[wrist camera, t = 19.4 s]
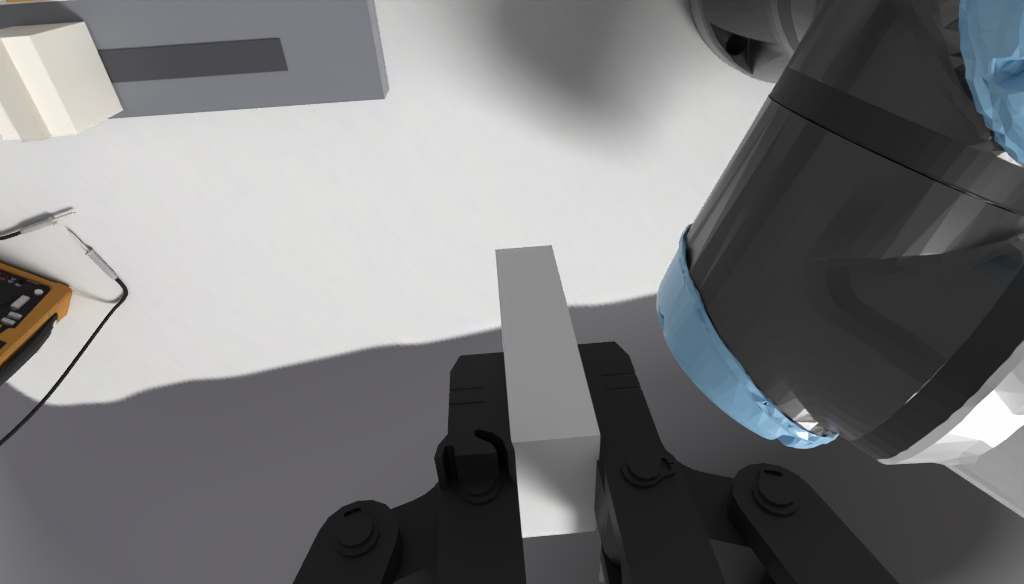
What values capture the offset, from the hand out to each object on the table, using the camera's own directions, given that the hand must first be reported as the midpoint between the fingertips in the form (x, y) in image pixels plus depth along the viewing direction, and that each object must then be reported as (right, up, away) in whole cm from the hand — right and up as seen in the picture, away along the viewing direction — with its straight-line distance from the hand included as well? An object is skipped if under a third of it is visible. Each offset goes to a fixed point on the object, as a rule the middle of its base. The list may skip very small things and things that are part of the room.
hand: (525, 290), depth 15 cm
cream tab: (-27, +13, +18) cm, 35 cm away
